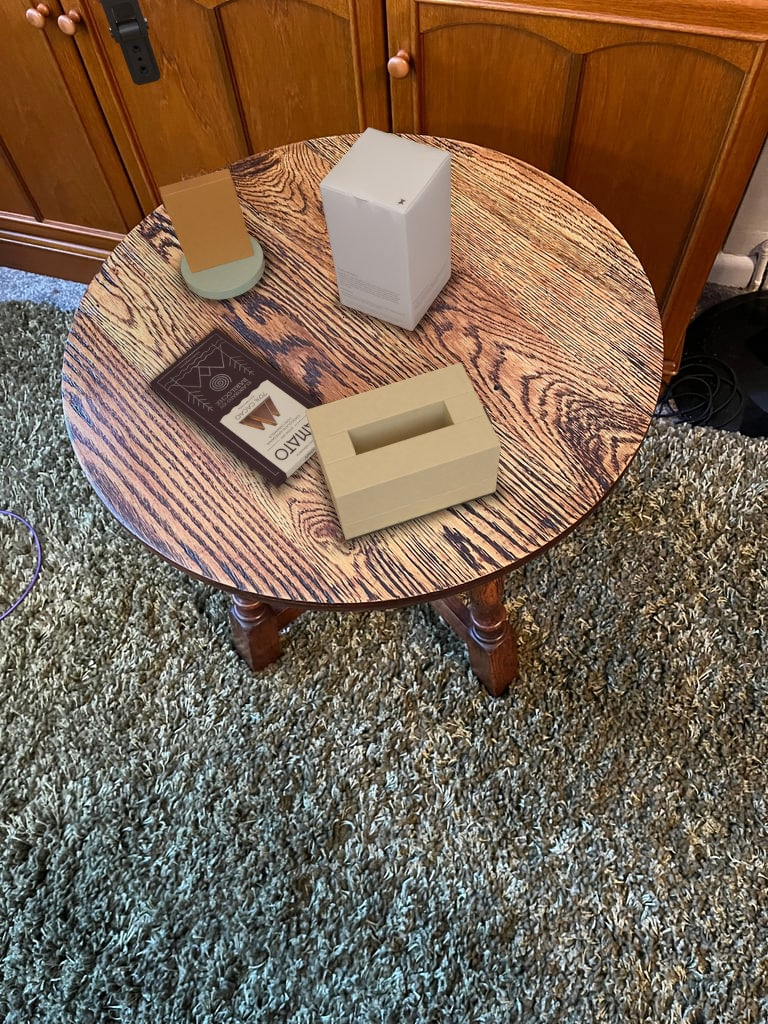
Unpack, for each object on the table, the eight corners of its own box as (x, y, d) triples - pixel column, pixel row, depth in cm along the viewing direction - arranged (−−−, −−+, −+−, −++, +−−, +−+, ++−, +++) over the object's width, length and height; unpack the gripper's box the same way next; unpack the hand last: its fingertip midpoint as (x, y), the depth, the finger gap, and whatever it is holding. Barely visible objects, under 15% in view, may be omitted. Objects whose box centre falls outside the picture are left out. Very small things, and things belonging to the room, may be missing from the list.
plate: (192, 309, 82) (189, 301, 81) (177, 252, 86) (173, 244, 85) (273, 285, 83) (271, 277, 82) (254, 230, 87) (252, 221, 86)
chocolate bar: (215, 327, 79) (343, 418, 72) (218, 334, 80) (344, 424, 73) (149, 382, 76) (275, 482, 70) (152, 388, 77) (277, 487, 70)
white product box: (454, 275, 81) (455, 150, 68) (412, 334, 78) (405, 214, 65) (380, 248, 84) (368, 122, 71) (337, 303, 81) (315, 183, 67)
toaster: (346, 542, 67) (334, 497, 60) (318, 460, 72) (304, 410, 65) (504, 490, 69) (510, 441, 62) (467, 413, 73) (469, 359, 66)
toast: (191, 273, 83) (161, 196, 74) (189, 265, 83) (158, 187, 74) (254, 255, 83) (231, 176, 74) (251, 247, 84) (228, 167, 75)
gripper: (-18, -239, 51) (82, 16, 65) (-3, -149, 44) (105, 114, 58) (93, -263, 52) (168, -5, 66) (126, -178, 45) (201, 89, 59)
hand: (139, 51), depth 62 cm, fingers open, 8 cm apart
